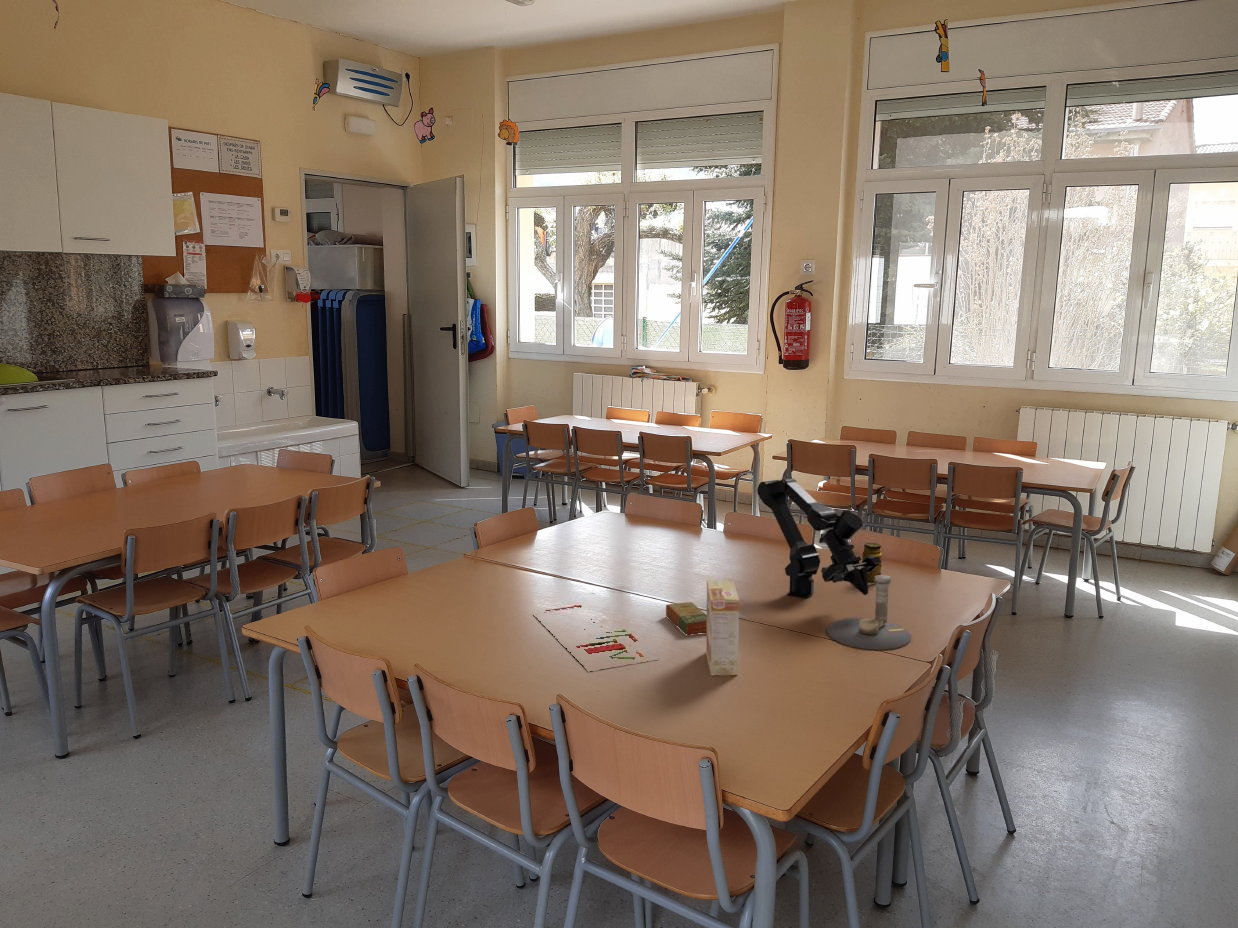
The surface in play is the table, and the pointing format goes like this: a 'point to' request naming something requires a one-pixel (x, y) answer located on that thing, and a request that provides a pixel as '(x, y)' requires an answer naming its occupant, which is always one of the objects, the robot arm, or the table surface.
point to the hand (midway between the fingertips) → (866, 594)
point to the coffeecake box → (722, 627)
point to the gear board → (607, 647)
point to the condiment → (869, 551)
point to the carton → (687, 617)
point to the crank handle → (877, 607)
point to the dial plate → (868, 635)
